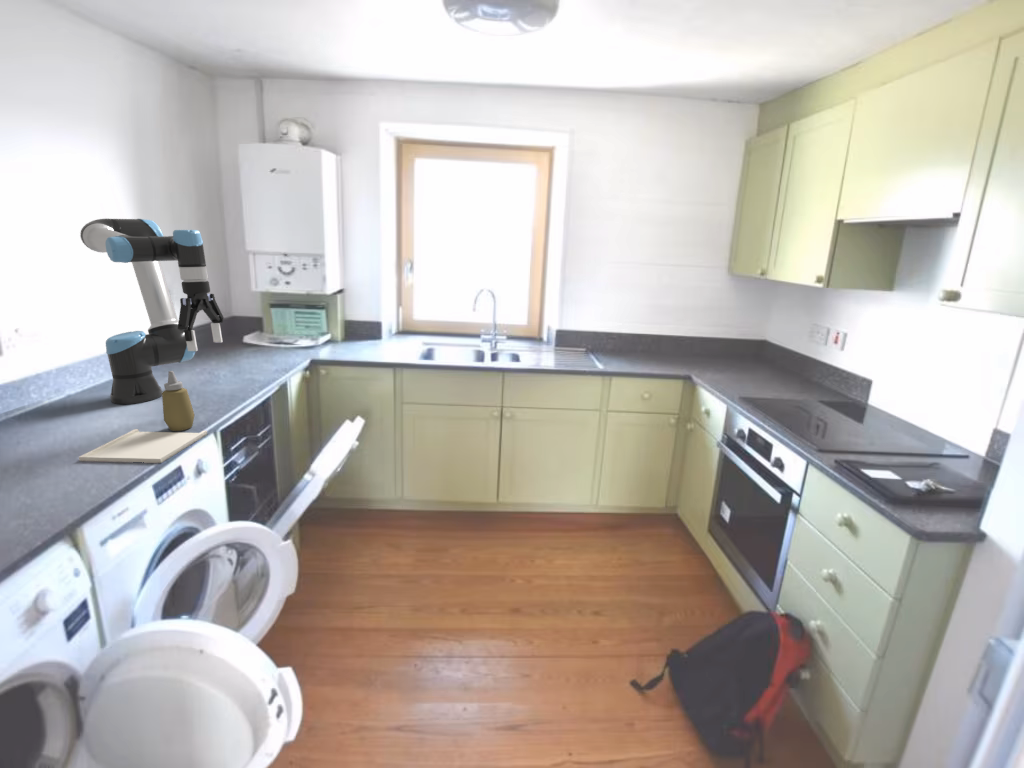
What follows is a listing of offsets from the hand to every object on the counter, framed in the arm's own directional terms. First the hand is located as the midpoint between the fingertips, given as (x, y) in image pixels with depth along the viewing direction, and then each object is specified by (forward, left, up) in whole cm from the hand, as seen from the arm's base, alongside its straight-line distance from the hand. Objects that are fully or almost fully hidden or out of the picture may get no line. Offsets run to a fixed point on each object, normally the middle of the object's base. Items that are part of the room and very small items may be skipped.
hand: (206, 346), depth 170 cm
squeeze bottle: (+18, 0, -22) cm, 28 cm away
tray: (+32, 0, -22) cm, 39 cm away
